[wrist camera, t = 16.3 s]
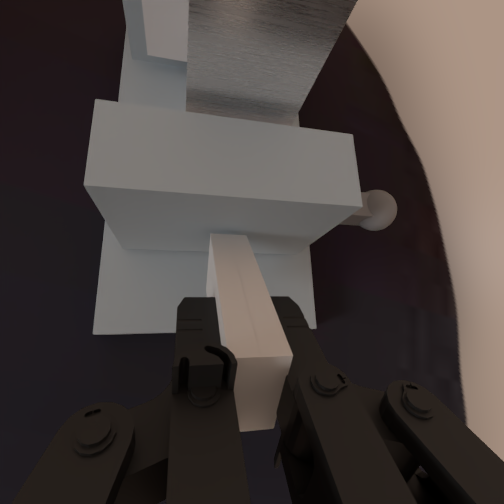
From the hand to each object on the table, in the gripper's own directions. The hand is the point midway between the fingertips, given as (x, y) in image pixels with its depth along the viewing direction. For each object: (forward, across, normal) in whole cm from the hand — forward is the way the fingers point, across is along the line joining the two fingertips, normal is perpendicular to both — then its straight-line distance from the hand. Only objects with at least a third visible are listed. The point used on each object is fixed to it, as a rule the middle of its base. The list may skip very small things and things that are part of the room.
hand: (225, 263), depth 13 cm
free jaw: (+4, +2, 0) cm, 4 cm away
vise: (+8, 0, +2) cm, 9 cm away
